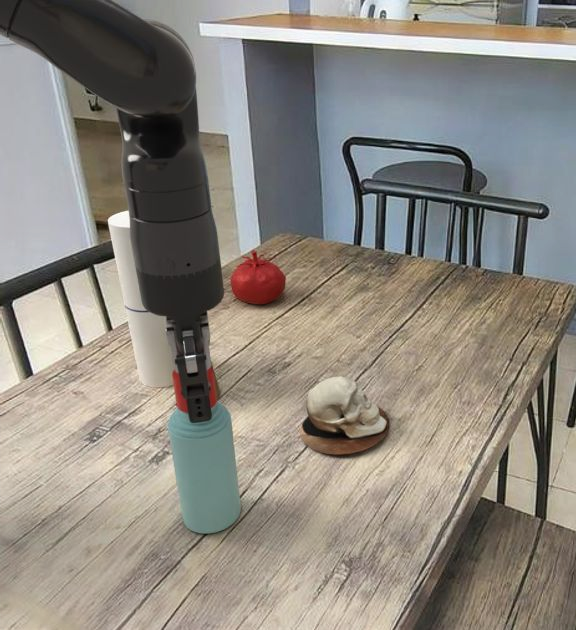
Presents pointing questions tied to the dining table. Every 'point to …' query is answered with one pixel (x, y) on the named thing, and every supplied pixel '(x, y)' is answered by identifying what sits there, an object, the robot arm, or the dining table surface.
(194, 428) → the bottle
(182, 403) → the cap
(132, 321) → the cylindrical container
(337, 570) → the dining table surface
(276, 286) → the pomegranate
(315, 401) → the skull
